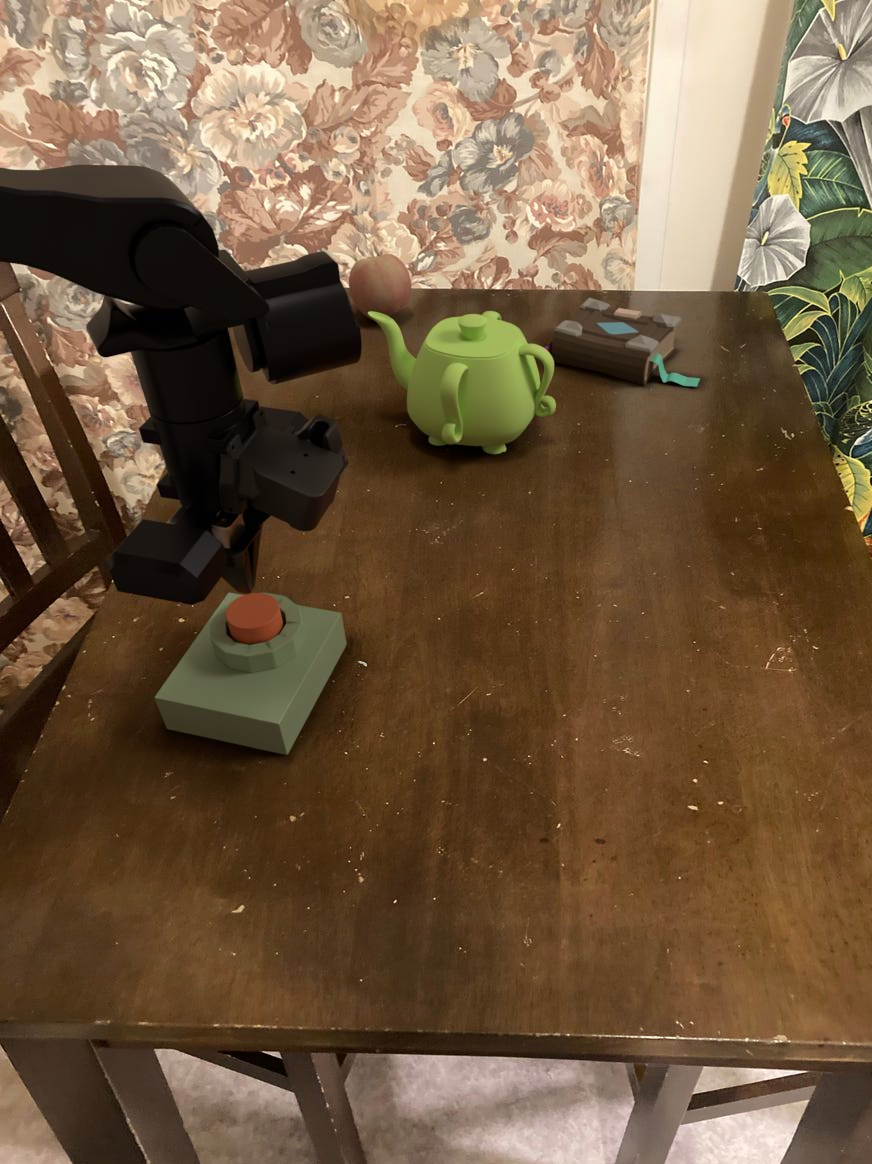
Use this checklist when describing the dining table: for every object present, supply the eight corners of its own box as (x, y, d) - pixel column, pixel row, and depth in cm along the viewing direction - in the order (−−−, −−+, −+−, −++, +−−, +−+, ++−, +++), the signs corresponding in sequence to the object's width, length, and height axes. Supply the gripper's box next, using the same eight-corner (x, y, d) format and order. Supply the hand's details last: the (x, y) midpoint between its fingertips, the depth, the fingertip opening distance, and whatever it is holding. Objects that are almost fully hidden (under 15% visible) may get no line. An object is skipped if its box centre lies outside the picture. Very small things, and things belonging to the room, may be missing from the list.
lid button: (269, 649, 67) (265, 632, 66) (221, 640, 68) (216, 623, 66) (291, 613, 70) (287, 597, 68) (244, 605, 70) (240, 588, 69)
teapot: (420, 483, 91) (412, 369, 82) (378, 415, 100) (366, 306, 91) (564, 448, 95) (570, 335, 86) (510, 385, 104) (511, 278, 95)
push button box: (287, 756, 66) (274, 707, 62) (166, 729, 68) (146, 680, 64) (347, 645, 74) (338, 595, 70) (237, 624, 76) (223, 575, 72)
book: (723, 354, 109) (731, 314, 105) (688, 399, 101) (694, 358, 98) (575, 320, 116) (577, 282, 112) (532, 360, 109) (533, 320, 105)
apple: (411, 302, 121) (406, 242, 115) (416, 328, 115) (411, 265, 110) (351, 307, 120) (344, 246, 114) (354, 333, 114) (346, 270, 109)
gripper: (248, 506, 47) (295, 703, 58) (371, 345, 60) (391, 531, 71) (63, 477, 49) (143, 671, 60) (220, 327, 62) (262, 510, 73)
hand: (246, 590), depth 66 cm, fingers closed
